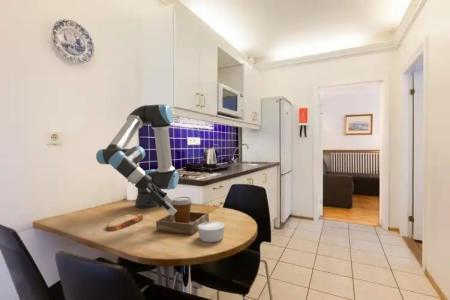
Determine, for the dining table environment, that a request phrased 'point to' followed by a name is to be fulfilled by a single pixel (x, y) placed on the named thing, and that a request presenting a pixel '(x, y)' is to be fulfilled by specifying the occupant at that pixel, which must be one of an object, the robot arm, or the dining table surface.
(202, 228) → the ramekin
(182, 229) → the open wooden box
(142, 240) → the dining table surface
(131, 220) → the bread slice
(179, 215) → the disposable coffee cup
